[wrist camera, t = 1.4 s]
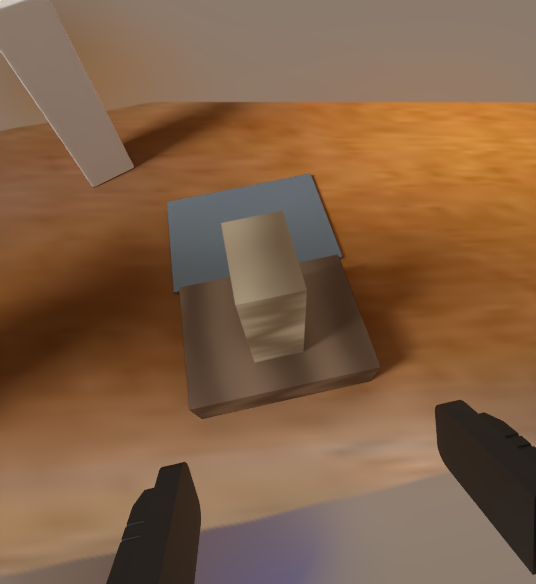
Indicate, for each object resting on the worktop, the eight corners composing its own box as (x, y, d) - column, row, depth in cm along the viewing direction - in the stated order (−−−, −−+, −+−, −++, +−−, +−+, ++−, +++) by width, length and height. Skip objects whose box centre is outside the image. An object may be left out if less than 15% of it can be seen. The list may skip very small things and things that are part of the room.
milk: (78, 164, 47) (-71, -55, 28) (118, 145, 49) (2, -76, 30) (93, 188, 45) (-60, -36, 25) (136, 168, 46) (20, -60, 27)
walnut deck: (201, 418, 29) (189, 409, 26) (190, 307, 35) (179, 287, 31) (370, 380, 30) (380, 366, 26) (333, 277, 35) (337, 254, 32)
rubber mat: (174, 293, 36) (173, 291, 35) (168, 204, 42) (167, 202, 42) (342, 258, 36) (342, 256, 36) (310, 175, 43) (310, 173, 42)
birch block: (254, 362, 27) (235, 305, 19) (242, 298, 30) (220, 223, 22) (303, 351, 27) (306, 289, 19) (286, 289, 30) (282, 210, 22)
